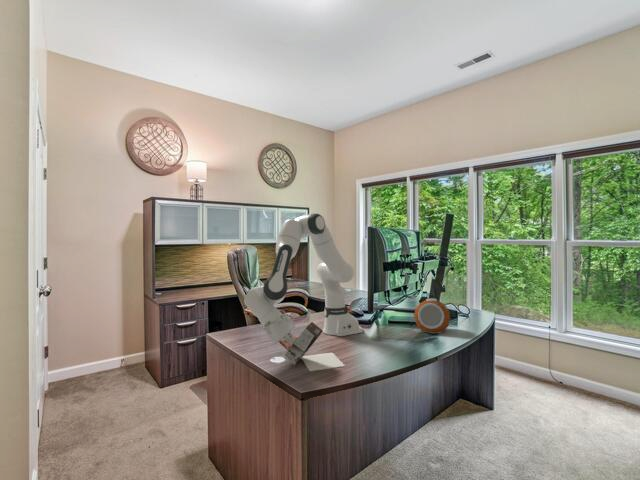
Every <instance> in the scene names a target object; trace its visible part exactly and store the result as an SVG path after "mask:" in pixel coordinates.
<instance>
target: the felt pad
mask: <svg viewBox="0 0 640 480" xmlns="http://www.w3.org/2000/svg"><path fill="white" fill-rule="evenodd" d="M300 360H302V362H303V363H304V365H305V366H306V368H307V370H308V371H309V372H315V371H322V370H330V369H336V368H344V367H346V365H345V364H344V363H343V361H342V360H340V358H338V356H336V354H334V353H333V352H326V353H325V352H324V353H317V354H309V355H304V356H303V357H302V358H301V359H300Z"/></svg>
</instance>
